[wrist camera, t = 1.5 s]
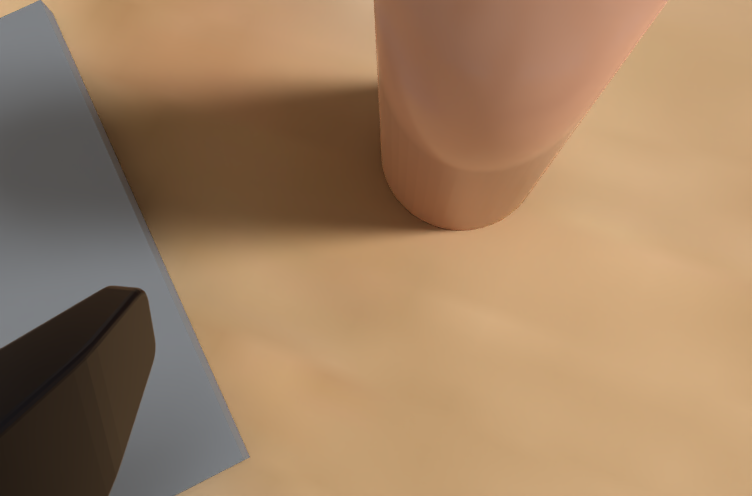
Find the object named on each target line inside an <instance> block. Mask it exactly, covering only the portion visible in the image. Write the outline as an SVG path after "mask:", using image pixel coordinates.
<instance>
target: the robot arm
mask: <svg viewBox="0 0 752 496" xmlns="http://www.w3.org/2000/svg"><path fill="white" fill-rule="evenodd" d="M155 350H156V342H155V336H154V330H153V324H152V318H151V312H150V307H149V301H148V297H147V295H146V293H145V291H143V290H142V289H140V288H135V287H125V286H107V287H105V288H103V289H101V290H99V291H97V292H96V293H94V294H92V295H91V296H89V297H87V298H85V299H84V300H82V301H80V302H79V303H77V304H75V305H74V306H72V307H70V308H68V309H67V310H65V311H63V312H62V313H60V314H58V315H57V316H55V317H53V318H51V319H50V320H48V321H46V322H45V323H43V324H41V325H39V326H38V327H36V328H34V329H33V330H31V331H29V332H28V333H26V334H24V335H22V336H21V337H19V338H17V339H16V340H14V341H12V342H11V343H9V344H7V345H5V346H4V347H2V348H0V496H109V494H110V491H111V489H112V487H113V484H114V482H115V479H116V477H117V474H118V471H119V468H120V465H121V463H122V460H123V457H124V453H125V450H126V447H127V444H128V441H129V438H130V435H131V431H132V428H133V425H134V422H135V419H136V416H137V412H138V409H139V406H140V403H141V400H142V397H143V394H144V390H145V387H146V384H147V381H148V378H149V375H150V372H151V368H152V365H153V362H154V357H155Z"/></svg>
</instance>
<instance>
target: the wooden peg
mask: <svg viewBox="0 0 752 496" xmlns="http://www.w3.org/2000/svg"><path fill="white" fill-rule="evenodd" d="M667 1H668V0H374V13H375V34H376V54H377V75H378V96H379V117H380V137H381V157H382V166H383V171H384V175H385V178H386V181H387V183H388V185H389V187H390V189H391V191H392V193H393V194H394V195H395V197H396V198H397V200H398V201H399V202H400V203H401V204H402V205H403V206H404V207H405V208H406V209H407V210H408V211H409V212H410V213H412V214H413V215H414V216H416V217H418V218H419V219H421V220H423V221H425V222H427V223H429V224H431V225H434V226H437V227H440V228H445V229H450V230H473V229H478V228H483V227H486V226H489V225H492V224H494V223H496V222H498V221H500V220H502V219H504V218H505V217H507V216H508V215H510V214H511V213H512V212H513V211H515V210H516V209H517V208H518V207H519V206H520V205H521V203H522V202H523V201H524V200H525V199H526V197H527V196H528V195H529V193H530V192H531V190H532V189H533V188H534V186H535V185H536V183H537V182H538V181H539V179H540V178H541V176H542V175H543V174H544V172H545V171H546V170H547V168H548V167H549V165H550V164H551V163H552V161H553V160H554V158H555V157H556V156H557V154H558V153H559V151H560V150H561V149H562V147H563V146H564V145H565V143H566V142H567V140H568V139H569V138H570V136H571V135H572V133H573V132H574V131H575V129H576V128H577V126H578V125H579V124H580V122H581V121H582V120H583V118H584V117H585V115H586V114H587V113H588V111H589V110H590V108H591V107H592V106H593V104H594V103H595V101H596V100H597V99H598V97H599V96H600V95H601V93H602V92H603V90H604V89H605V88H606V86H607V85H608V83H609V82H610V81H611V79H612V78H613V76H614V75H615V74H616V72H617V71H618V70H619V68H620V67H621V65H622V64H623V63H624V61H625V60H626V58H627V57H628V56H629V54H630V53H631V51H632V50H633V49H634V47H635V46H636V45H637V43H638V42H639V40H640V39H641V38H642V36H643V35H644V33H645V32H646V31H647V29H648V28H649V26H650V25H651V24H652V22H653V21H654V20H655V18H656V17H657V15H658V14H659V13H660V11H661V10H662V8H663V7H664V6H665V4H666V3H667Z"/></svg>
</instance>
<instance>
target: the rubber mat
mask: <svg viewBox="0 0 752 496" xmlns="http://www.w3.org/2000/svg"><path fill="white" fill-rule="evenodd" d="M107 286H125V287H135V288H140V289H142V290H143V291H145V293H146V295H147V297H148V301H149V307H150V312H151V318H152V324H153V330H154V336H155V342H156V350H155V357H154V362H153V365H152V368H151V372H150V375H149V378H148V381H147V384H146V387H145V390H144V394H143V397H142V400H141V403H140V406H139V409H138V412H137V416H136V419H135V422H134V425H133V428H132V431H131V435H130V438H129V441H128V444H127V447H126V450H125V453H124V457H123V460H122V463H121V465H120V468H119V471H118V474H117V477H116V479H115V482H114V484H113V487H112V489H111V491H110V494H109V496H175V495H177V494H179V493H181V492H183V491H185V490H187V489H188V488H190V487H192V486H194V485H196V484H198V483H200V482H202V481H204V480H206V479H208V478H210V477H212V476H214V475H216V474H218V473H220V472H222V471H224V470H226V469H228V468H230V467H231V466H233V465H235V464H237V463H239V462H241V461H243V460H245V459H247V458H249V457H250V456H249V454H248V452H247V449H246V447H245V445H244V443H243V440H242V438H241V436H240V434H239V431H238V429H237V427H236V425H235V422H234V420H233V418H232V416H231V413H230V411H229V409H228V407H227V404H226V402H225V400H224V398H223V395H222V393H221V391H220V389H219V386H218V384H217V382H216V380H215V377H214V375H213V373H212V371H211V368H210V366H209V364H208V362H207V359H206V357H205V355H204V353H203V350H202V348H201V346H200V344H199V341H198V339H197V337H196V335H195V332H194V330H193V328H192V326H191V323H190V321H189V319H188V317H187V314H186V312H185V310H184V308H183V305H182V303H181V301H180V299H179V296H178V294H177V292H176V290H175V287H174V285H173V283H172V281H171V278H170V276H169V274H168V272H167V269H166V267H165V265H164V263H163V260H162V258H161V256H160V254H159V251H158V249H157V247H156V245H155V242H154V240H153V238H152V236H151V233H150V231H149V229H148V227H147V224H146V222H145V220H144V218H143V215H142V213H141V211H140V209H139V206H138V204H137V202H136V200H135V197H134V195H133V193H132V191H131V188H130V186H129V184H128V182H127V179H126V177H125V175H124V173H123V170H122V168H121V166H120V164H119V161H118V159H117V157H116V155H115V152H114V150H113V148H112V146H111V143H110V141H109V139H108V137H107V134H106V132H105V130H104V128H103V125H102V123H101V121H100V119H99V116H98V114H97V112H96V110H95V107H94V105H93V103H92V101H91V98H90V96H89V94H88V92H87V89H86V87H85V85H84V83H83V80H82V78H81V76H80V74H79V71H78V69H77V67H76V65H75V62H74V60H73V58H72V56H71V53H70V51H69V49H68V47H67V44H66V42H65V40H64V38H63V36H62V33H61V31H60V29H59V27H58V24H57V22H56V20H55V18H54V15H53V13H52V12H51V11H50V10H49V9H48V8H47V6H46V5H45V4H44V3H43V2H42V1H41V0H39V1H37V2H35V3H32V4H30V5H28V6H26V7H24V8H21V9H19V10H17V11H15V12H13V13H10V14H8V15H6V16H4V17H2V18H0V348H2V347H4V346H5V345H7V344H9V343H11V342H12V341H14V340H16V339H17V338H19V337H21V336H22V335H24V334H26V333H28V332H29V331H31V330H33V329H34V328H36V327H38V326H39V325H41V324H43V323H45V322H46V321H48V320H50V319H51V318H53V317H55V316H57V315H58V314H60V313H62V312H63V311H65V310H67V309H68V308H70V307H72V306H74V305H75V304H77V303H79V302H80V301H82V300H84V299H85V298H87V297H89V296H91V295H92V294H94V293H96V292H97V291H99V290H101V289H103V288H105V287H107Z"/></svg>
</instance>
